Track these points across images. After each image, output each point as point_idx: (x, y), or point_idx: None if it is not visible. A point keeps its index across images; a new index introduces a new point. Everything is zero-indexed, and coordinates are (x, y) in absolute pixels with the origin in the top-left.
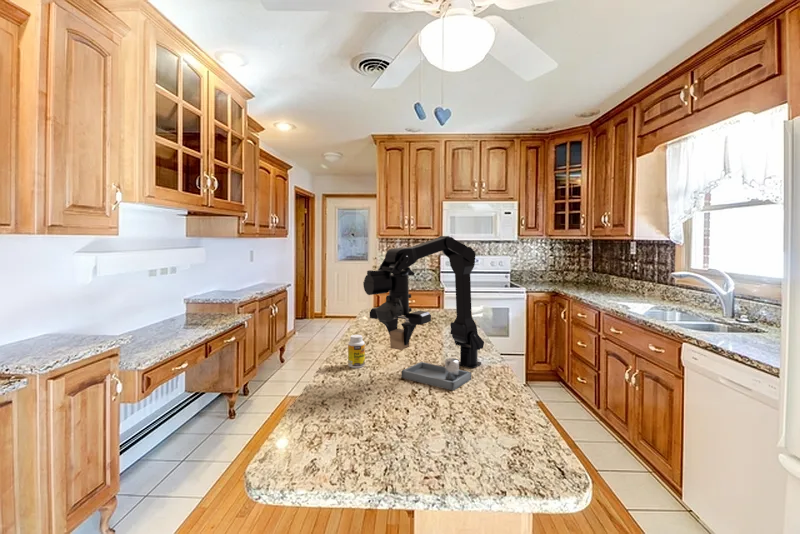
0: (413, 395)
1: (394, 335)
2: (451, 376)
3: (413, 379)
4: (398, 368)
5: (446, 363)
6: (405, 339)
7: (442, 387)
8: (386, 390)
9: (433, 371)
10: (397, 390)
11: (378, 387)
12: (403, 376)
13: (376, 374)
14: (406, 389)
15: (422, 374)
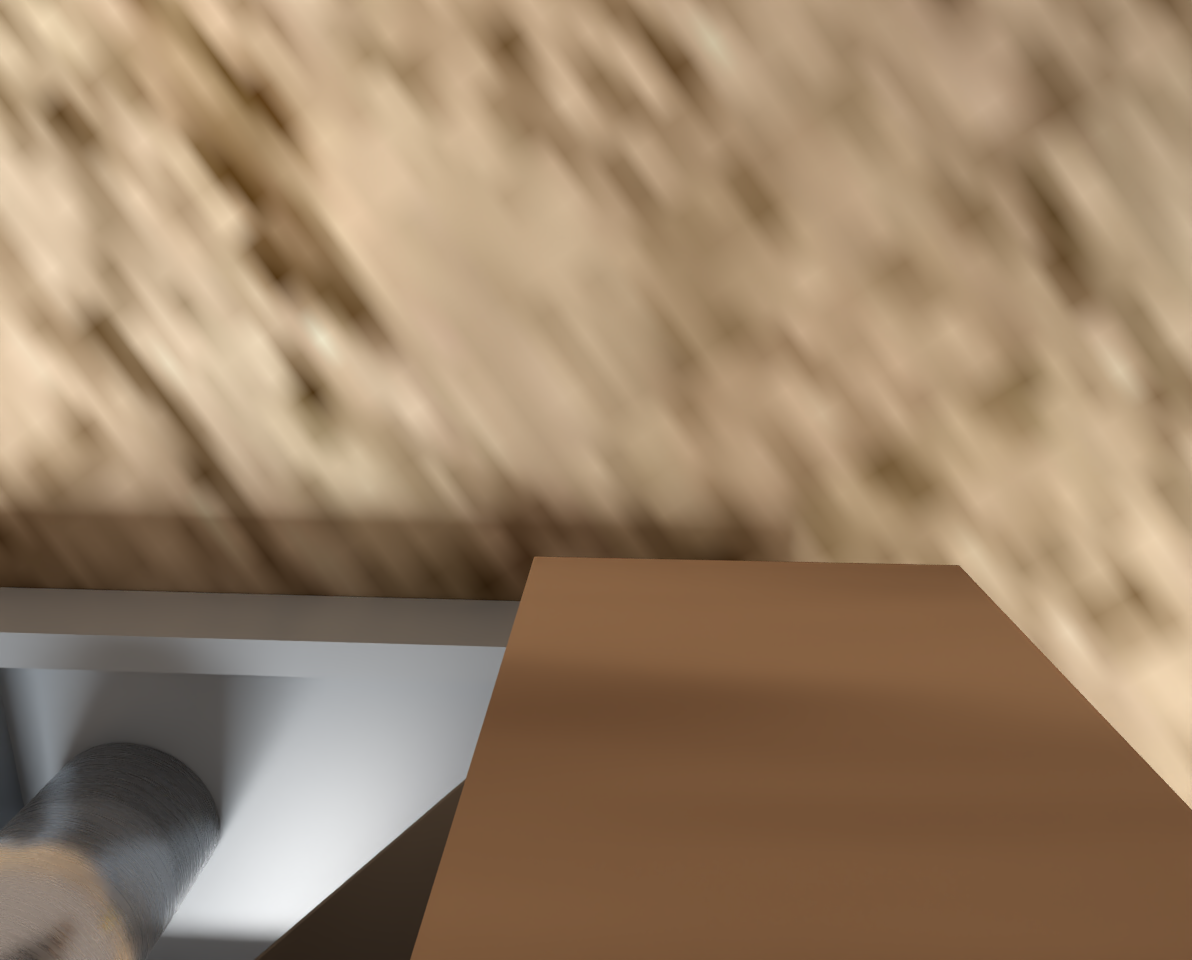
0: (234, 153)
1: (903, 825)
2: (41, 795)
3: None
4: None
5: (13, 929)
6: (395, 871)
7: (115, 592)
8: (656, 72)
9: None
10: (524, 173)
11: (831, 99)
12: None
13: (1165, 523)
14: (445, 282)
15: None
